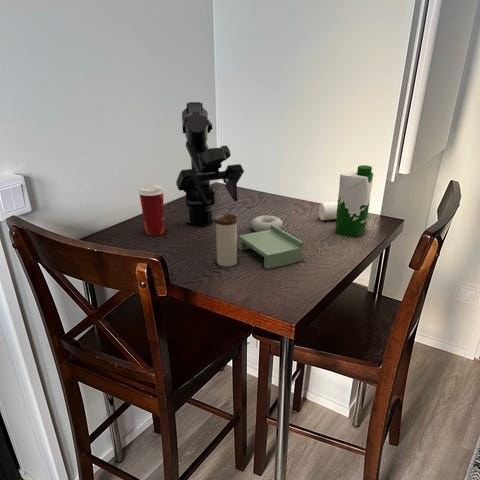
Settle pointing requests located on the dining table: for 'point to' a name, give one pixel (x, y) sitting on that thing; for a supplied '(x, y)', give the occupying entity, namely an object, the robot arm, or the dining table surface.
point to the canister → (226, 239)
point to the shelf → (273, 246)
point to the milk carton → (354, 200)
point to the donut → (265, 223)
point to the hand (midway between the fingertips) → (221, 202)
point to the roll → (328, 211)
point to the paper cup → (152, 208)
